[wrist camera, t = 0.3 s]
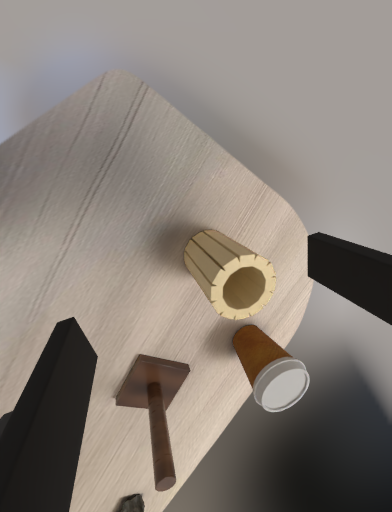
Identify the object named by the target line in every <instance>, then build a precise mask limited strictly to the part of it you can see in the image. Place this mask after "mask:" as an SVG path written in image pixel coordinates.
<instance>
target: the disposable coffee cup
mask: <svg viewBox="0 0 392 512" xmlns="http://www.w3.org/2000/svg"><path fill="white" fill-rule="evenodd" d="M233 346H234V348H235V350H236V352H237V355H238V357H239V359H240V361H241V364H242V366H243V368H244V370H245V373H246V375H247V377H248V379H249V382H250V384H251V386H252V388H253V393H254V398H255V400H256V402H257V403H258V404H259V405H261V406H262V407H263V408H264V409H266V410H267V411H270V412H278V411H282V410H284V409H287V408H289V407H290V406H292V405H293V404H295V403H296V402H297V401H298V400H299V399H300V398H301V397H302V396H303V395H304V393H305V392H306V390H307V388H308V386H309V381H310V379H309V375H308V373H307V371H306V367H305V365H304V364H303V363H302V362H301V361H299V360H297V359H295V358H293V357H292V356H291V355H289V354H288V353H287V352H286V351H285V350H283V348H281V347H280V346H279V345H278V344H277V343H276V342H274V341H273V340H272V339H271V338H270V337H269V336H267V335H266V334H265V333H264V332H263V331H262V330H260V329H259V328H258V327H257V326H254V325H248V326H245V327H243V328H241V329H240V330H239V331H238V332H237V333H236V334H235V336H234V338H233Z"/></svg>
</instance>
